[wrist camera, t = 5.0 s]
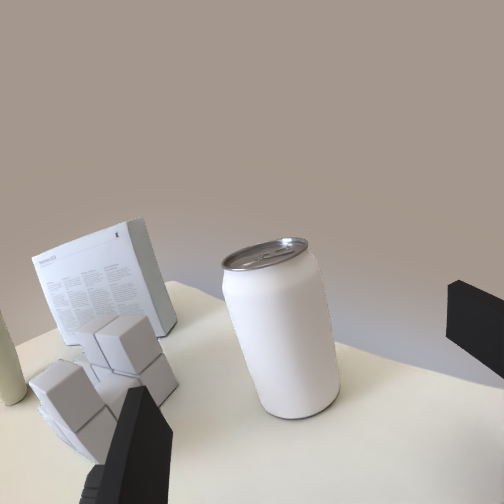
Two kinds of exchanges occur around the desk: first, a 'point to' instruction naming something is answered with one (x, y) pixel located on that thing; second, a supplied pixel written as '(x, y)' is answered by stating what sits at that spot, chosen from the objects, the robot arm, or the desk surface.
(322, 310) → the can
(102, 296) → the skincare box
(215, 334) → the desk surface
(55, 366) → the stacked white cubes
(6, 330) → the mug
